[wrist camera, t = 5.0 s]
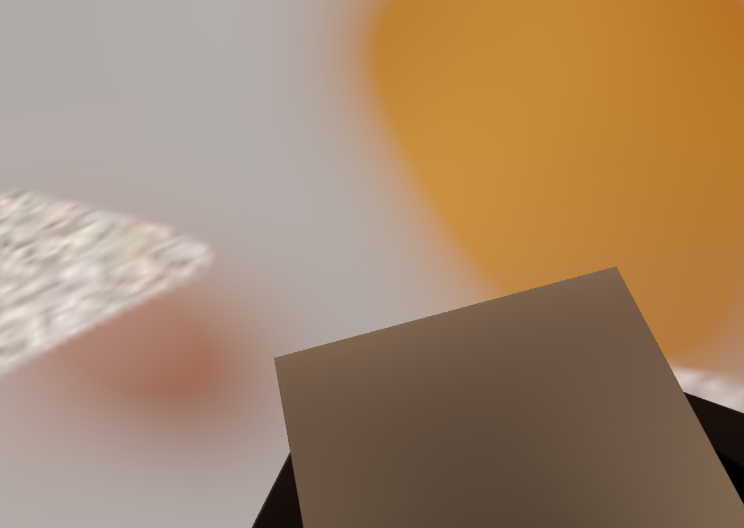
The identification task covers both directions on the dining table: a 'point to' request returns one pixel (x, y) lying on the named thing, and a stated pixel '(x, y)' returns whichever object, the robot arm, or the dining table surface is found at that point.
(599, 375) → the walnut pillar
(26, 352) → the dining table surface
